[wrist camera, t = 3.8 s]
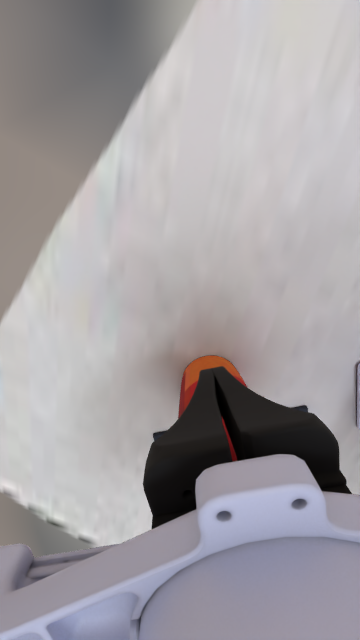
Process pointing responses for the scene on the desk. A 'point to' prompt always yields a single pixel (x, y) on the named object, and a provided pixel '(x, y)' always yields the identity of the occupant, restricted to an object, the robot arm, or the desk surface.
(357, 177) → the desk surface
